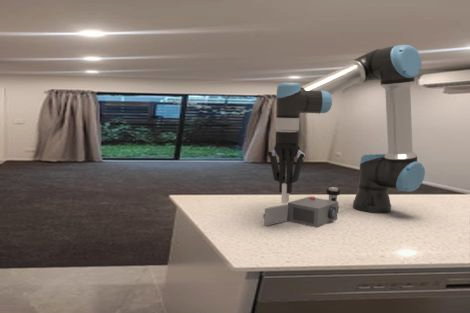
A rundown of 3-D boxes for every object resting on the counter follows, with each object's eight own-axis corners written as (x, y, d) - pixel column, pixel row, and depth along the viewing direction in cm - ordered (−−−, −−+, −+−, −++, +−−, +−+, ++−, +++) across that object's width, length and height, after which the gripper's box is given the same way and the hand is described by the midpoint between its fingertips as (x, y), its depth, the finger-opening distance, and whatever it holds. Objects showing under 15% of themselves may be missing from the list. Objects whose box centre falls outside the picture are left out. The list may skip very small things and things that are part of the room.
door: (288, 220, 142) (289, 204, 141) (266, 225, 134) (267, 209, 133) (284, 219, 143) (285, 203, 143) (262, 224, 135) (263, 208, 135)
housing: (308, 213, 156) (309, 194, 155) (340, 219, 147) (341, 200, 147) (286, 220, 143) (287, 200, 142) (320, 228, 135) (321, 207, 134)
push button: (329, 215, 154) (331, 189, 153) (319, 212, 158) (321, 187, 157) (341, 213, 157) (343, 188, 156) (331, 210, 162) (333, 186, 161)
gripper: (310, 131, 130) (307, 202, 133) (273, 130, 136) (272, 198, 139) (302, 132, 123) (299, 207, 126) (264, 130, 130) (262, 202, 133)
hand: (285, 202), depth 133 cm, fingers closed
